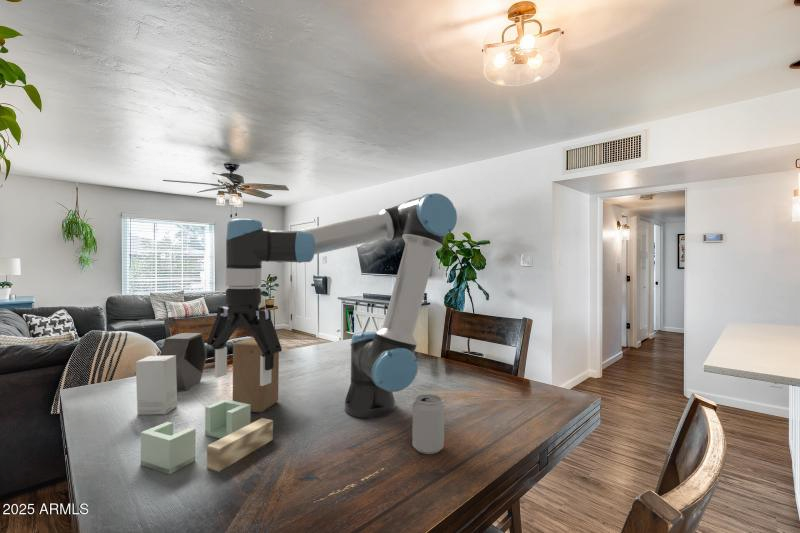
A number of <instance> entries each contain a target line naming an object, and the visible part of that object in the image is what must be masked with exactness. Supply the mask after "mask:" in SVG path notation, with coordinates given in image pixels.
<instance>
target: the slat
mask: <svg viewBox="0 0 800 533" xmlns="http://www.w3.org/2000/svg"><path fill="white" fill-rule="evenodd" d="M273 430H274V420H273V419H268V418H265V417H261V418H259V419H257V420H255V421H253V422H250V424H249V425H247V426H245V427H243V428H241V429H239V430H237V431H235V432H233V433H231V434H229V435H227V436H225V437H223V438H221V439H220V438H218V440H216V441H214V442H213V441H212V442H211V443H209V444H207V445H206V469H209V470H211V471H216V472H218V473H220V472H221V471H223V470H225V469H227V468H228V467H229V466H231V465H232V464H234V463H236V462H238V461H241V459H243V458H245V457H247V456H248V455H249V454H251V453H253V452H255V451H256V450H258V449H260V448H261V447H263V446H265V445H266V444H268V443H269V442H271V441H273V440H274V436H273V435H274V431H273Z"/></svg>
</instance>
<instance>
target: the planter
mask: <svg viewBox="0 0 800 533" xmlns="http://www.w3.org/2000/svg"><path fill="white" fill-rule="evenodd" d="M159 353H160V354H159V356H173V355H176V378H177V392H178V391H179V392H181V391H182V392H183V391H184V392H186V391H188V390H190V389H191V388H193V387H195V386H196V385H197V384H199V383H200V382H201V381H202V377H203V373H204V368H205V365H206V362H207V357H208V354H207V353H208V352H207V348H206V345H205V339H204V334H203V333H202V332H181V333H177V334H175V335H172V336H168V337H166V338H165V339H164V342H163V344H162V348H161V351H160V352H159Z"/></svg>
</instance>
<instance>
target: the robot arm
mask: <svg viewBox="0 0 800 533" xmlns="http://www.w3.org/2000/svg"><path fill="white" fill-rule="evenodd" d="M457 222H458V213H457V210H456V207H455V206H454V204H453V202H452V200H450V198H449V197H447V196H446V195H444V194H442V193H426V194H424V195H422V196H420V197H417V198H416V197H415V198H413V199H410V200H407V201H405V202H402V203H399V204H398V205H395V206H391V207H389V208H385V209H381V210H380V211H379V213H377V214H376V213H375V214H373V215H368V216H367V215H366V216H363V217H357V218H352V219H347V220H344V221H343V220H342V221H337V222H333V223H328V224H324V225H317V226H314V227H307V228H304V229H299V230H273V229H265V228H264V227H263V223H262V221H260V220H258V219H250V218H235V219H230V220H229V221H228V222H227V225H226V238H225V239H226V240H225V242H226V243H225V246H226V247H225V248H226V250H225V251H226V255H225V257H226V260H225V261H226V265H225V286H226V287H228V288H226V289H225V304H226V306H220V307H218V308H217V311H216V318H215V320H214V322H213V325H212V327H211V330H210V334H209V336H208V338H207V341H206V345H207V346H211V347H212V348H213V362H214V377H215V378H216V379H218V378H221V377H224V376H227V375H228V374H227V373H228V347H227V343H228V341H229V340H230V338H231V337H232V336H233V334H234V333H235V331H236V330H237V329H243V330H247V331H248V332H250V334H251V336H252V337H254V339H255V341H256V342H257V344H258V346H259V347H260V349H261V351H262V353H263V355H262V356H260V386H264V385H267V384H269V383H271V372H272V369H273V367H274V354H275V353H278V352H279V353H280V352H282V351H283V348H282V345H281V342H280V339H279V337H278V335H277V332H276V329H275V327H274V323H273V321H272V313H271V309H269V308H267V309H262V310H260V307H259V306H260V304H261V303H262V289H261V288H260V286H261V285H262V264H263V262H267V263H269V262H271V263H273V262H274V263H298V264H301V263H310V262H312V261H313V260H314V258H315V255H318V254H323V253H327V252H332V251H336V250H340V249H346V248H349V247H353V246H357V245H363V244H367V243H371V242H374V241H380V240H386V241H387V242H390V241H395V240H400V239H401V240H402V239H403V241H404V243H405V245H404V248H403V252H402V256H401V260H400V263H399V267H398V270H397V274H396V277H395V281H394V286H393V288H392V292H391V296H390V300H389V303H388V308H387V310H386V314H385V318H384V322H383V325H382V328H379V329H378V330H376V331H364V332H363V331H362V332H355V333H354V334H352V336H351V343H350V384H349V388H348V391H347V393H346V396H345V399H344V411H345V413H346V414H348V415H349V416H352V417H356V418H361V419H362V418H363V419H375V418H377V419H378V418H381V417H385V416H389V415H390V414H392V413H394V412H395V409H396V400H395V396H394V393H396V392H397V393H398V392H400V391H403V390H404V389H406V388H407V387H409V386H410V385H411V384H412V383H413V382H414V380H415V379H416V377H417V374H418V371H419V370H418V369H419V362H418V360H417V357H416V355H415V352H416V348H417V345H418V343H417V341H416V339H415V337H414V335H415V329H416V327H417V323H418V320H419V319H418V318H419V314H420V311H421V306H422V304H423V300H424V296H425V292H426V289H427V284H428V281H429V277H430V274H431V269H432V266H433V262H434V258H435V253H436V252H437V251H439V250H441V249H442V248H443V246H444V242H445V238H446V236H447V235H449V234H450V233H451V232H453V230H454V229H455V228H456V226H457Z"/></svg>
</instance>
